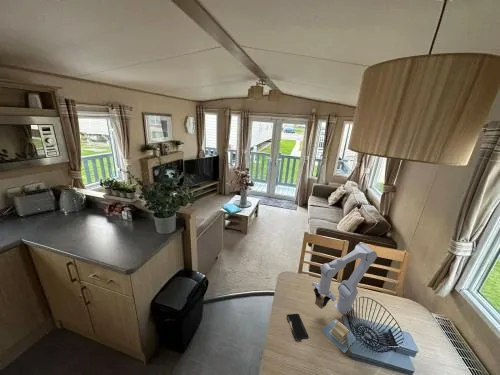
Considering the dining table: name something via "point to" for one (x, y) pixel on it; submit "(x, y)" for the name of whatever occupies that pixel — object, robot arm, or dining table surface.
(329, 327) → the board
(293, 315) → the phone
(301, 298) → the dining table surface
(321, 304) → the walnut block
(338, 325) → the maple base block
